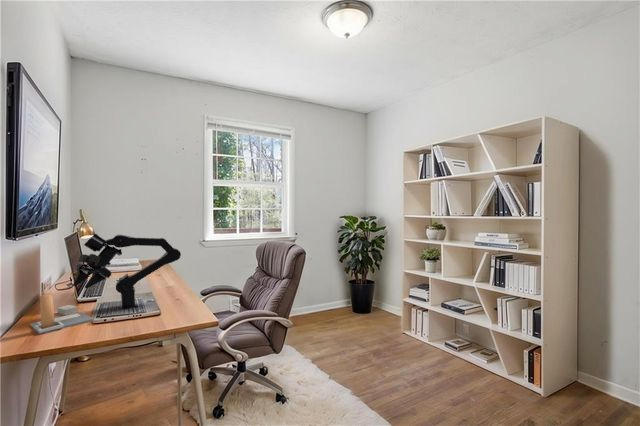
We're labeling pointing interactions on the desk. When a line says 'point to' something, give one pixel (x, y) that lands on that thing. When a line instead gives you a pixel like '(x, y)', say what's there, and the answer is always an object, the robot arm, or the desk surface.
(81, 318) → the board
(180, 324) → the desk surface
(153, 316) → the desk surface
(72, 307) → the cover
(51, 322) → the pin
